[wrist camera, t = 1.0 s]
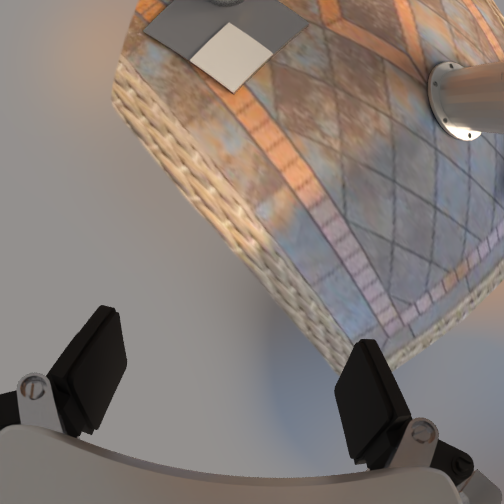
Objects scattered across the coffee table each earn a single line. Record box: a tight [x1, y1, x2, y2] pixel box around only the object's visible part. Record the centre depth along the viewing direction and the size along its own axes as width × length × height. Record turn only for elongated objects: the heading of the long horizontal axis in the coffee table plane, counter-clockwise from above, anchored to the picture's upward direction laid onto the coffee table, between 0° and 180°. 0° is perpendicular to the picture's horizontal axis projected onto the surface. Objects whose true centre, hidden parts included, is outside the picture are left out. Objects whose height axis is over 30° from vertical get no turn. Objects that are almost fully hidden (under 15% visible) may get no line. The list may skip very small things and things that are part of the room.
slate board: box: [143, 0, 309, 94], centre depth 26 cm, size 14×16×1 cm
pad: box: [190, 23, 273, 93], centre depth 27 cm, size 7×7×1 cm
